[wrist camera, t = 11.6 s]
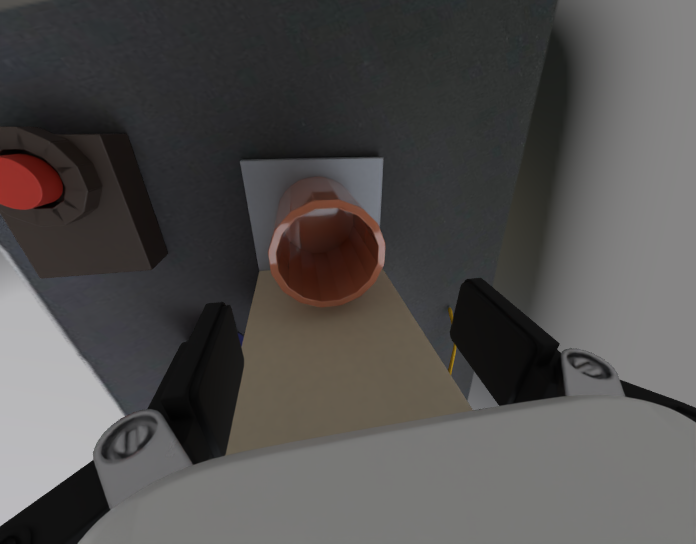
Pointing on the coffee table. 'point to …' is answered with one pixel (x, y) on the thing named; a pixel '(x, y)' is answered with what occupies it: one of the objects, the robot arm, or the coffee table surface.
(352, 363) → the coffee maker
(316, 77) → the coffee table surface
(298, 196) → the cup
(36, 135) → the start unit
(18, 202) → the button
